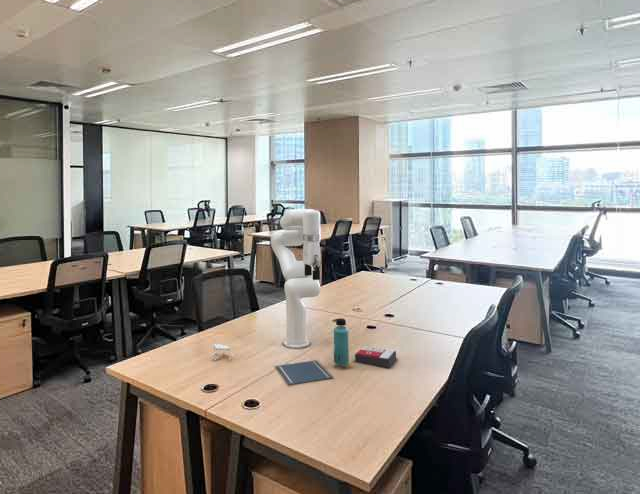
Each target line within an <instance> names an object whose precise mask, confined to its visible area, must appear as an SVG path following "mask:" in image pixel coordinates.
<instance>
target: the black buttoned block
mask: <svg viewBox="0 0 640 494" xmlns="http://www.w3.org/2000/svg"><path fill="white" fill-rule="evenodd" d="M354 358H355V359H354V360H355V362H356V363H363V364H370V365H376V366H378V367H380V368H386V369H390V368H391V366H393V364H394V363H395V361H396V360H397V350H394V349H386V348H382V347H374V346H366V345H363V347H362V348H360V349H359V350H358V351H357V352H356V353H355V354H354Z"/></svg>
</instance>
